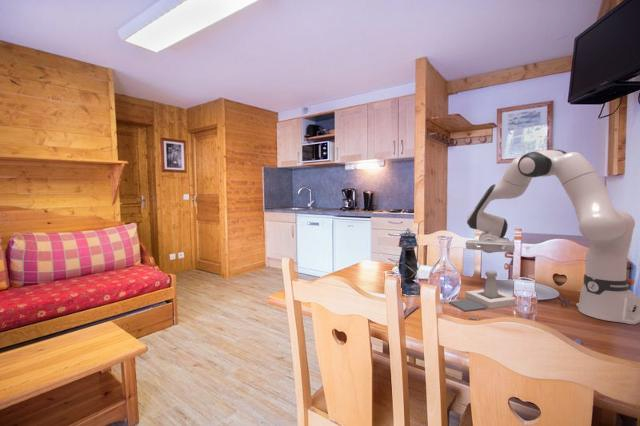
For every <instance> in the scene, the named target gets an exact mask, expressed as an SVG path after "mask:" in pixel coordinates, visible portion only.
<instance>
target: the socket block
mask: <svg viewBox="0 0 640 426" xmlns="http://www.w3.org/2000/svg"><path fill="white" fill-rule="evenodd" d="M484 289H485V288H484ZM484 289H476V290H467V291H465V293H464V297H465V298H466V299H470V300H472V301H474V302H476V303H478V304H480V305H482V306H484V307H487V308H488V309H496V308H503V307H511V306H516V305H515V301H516V299H515V298H516V297H514V296H512V295H510V294H507V293H504V292H502V291H499V290H498V294H499V297H498V298H495V299H489V298H486V297H484V296H483V293H484Z"/></svg>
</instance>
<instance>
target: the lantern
mask: <svg viewBox="0 0 640 426" xmlns="http://www.w3.org/2000/svg"><path fill="white" fill-rule="evenodd" d="M399 236H400V238H399V241H398V247H400V248H401V251H400V255H399V260H398V261H397V262H396V263H395V265H396V267H397V269H398V273H399V275H400V281H401V288H402V295H401V296H403V294H406V295H418V296H421V295H420V289H421V285H420V283H418V282H416V279H417V278H416V277H417V275H418V270H419V268H420V266H421V262H420V260H418V259H417V255H416V251H415V248H418V247H419V245H418V239H417V238H416V236H417V234H416V233H415V232H411V231H410V228H406V231H405V232H401V233H399ZM418 262H419V264H418Z"/></svg>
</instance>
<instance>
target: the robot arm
mask: <svg viewBox="0 0 640 426" xmlns="http://www.w3.org/2000/svg"><path fill="white" fill-rule="evenodd" d="M551 176H555V177H556V178H557V179H558V180H559V182H560V184H561V186H562V187H563V189H564V191H565V193H566V194H567V196H568V198H569V199H570V201H571V203H572V205H573V207H574V210H575V211H574V212H575V214H576V217H577V218H576V219H577V220H578V229H579V232H580V234H581V235H582V236H583V237H584V238H586V239H587V240H590V244H589V248H588V251H587V252H586V255H585V274H583V277H582V278H583V285H582V286H581V288H580V295H579V302H576V304H575V305H576V307H577V308H578V311H579V312H580V313H582V314H584V315H585V316H588V317H591V318H594V319H597V320H598V319H599V320H602V321H608V322H616V323H623V324H628V325H636V324H640V297H639V296H638V295H637V294H636V293H634V292H633V291H632V290H631V289H630V285H631V286H634V284H635V283H636V281H635V279H629V278H627V269H628V267H627V266H628V257H629V251H630V247H631V243H632V238H633V234H634V229H635V225H636V221H635V219H634V217H633V216H632V215H631V214H629V213H628V212H626V211H624V210H621V209H615V208H614V206H613V204H612V202H611V199H610V196H609V190H608V188H607V187H606V185H605V184H604V182H603V181H602V179H601V177H600V175H599V174H598V172H597V171H596V169H595V168H594V167H593V166H592V164H591V163H590V162H589V160H587V158H585V156H583V155H582V154H581V153H580V152H576V151H573V152H572V151H570V152H567V151H565V150H562V149H543V150H538V151H537V150H535V151H529V152H527V153H525V154H524V155H522V156H520V157H516V158H514V159H513V160H512V161H511V163H509V166H508V167H507V169H506V170H505V171H504V174H503V176H502V178H501V180H500V181H499V182H497V183H496V184H495V183H494V184H492V185H490V186H489V187H488V189H487V190H486V192H484V194H483V196H482V197H481V198H480V200H479V201H478V203H477V204H476V206H475V207H474V209H473V210H472V211H471V212H470V213H469V215H468V216H467V219H466V223H467V225H468V226H469V228H470V229H472V230H477V231H480V232H482V233H481V234H480V235H479V237H478V239H475V240H474V239H468V240H466V242H465V250H473V251H475V250H476V251H482V252H484V253H486V254H492V253H498V252H500V253H506V252H507V253H514V252H515V250H516V249H515V243H514V242H513V241H512V240H510V238H508V237H505V235H506V234H507V231H508V221H507V219H506V218H504V217H501V216H497V215H495V214H492V213H487V212H485V210H486V208H487V207H488V206H489V204H490V203H491V202H492V201H495V200H502V199H503V200H504V199H507V200H510V199H516V198H519V197H521V196H522V195H524V194H525V192H526V191H527V189H528V187H529V186H530V183H531V181H532V179H533V178H542V177H543V178H544V177H551Z"/></svg>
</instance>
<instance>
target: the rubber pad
mask: <svg viewBox="0 0 640 426" xmlns="http://www.w3.org/2000/svg"><path fill="white" fill-rule="evenodd" d="M448 304H449V305H451V306H454V307H455V308H457V309H459V310H461V311H463V312H464V313H467V312H474V311H481V310H487V307H485V306H483V305H481V304H479V303H477V302H475V301H473V300H470V299H468V298H466V299H459V300H451V301H448Z"/></svg>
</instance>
